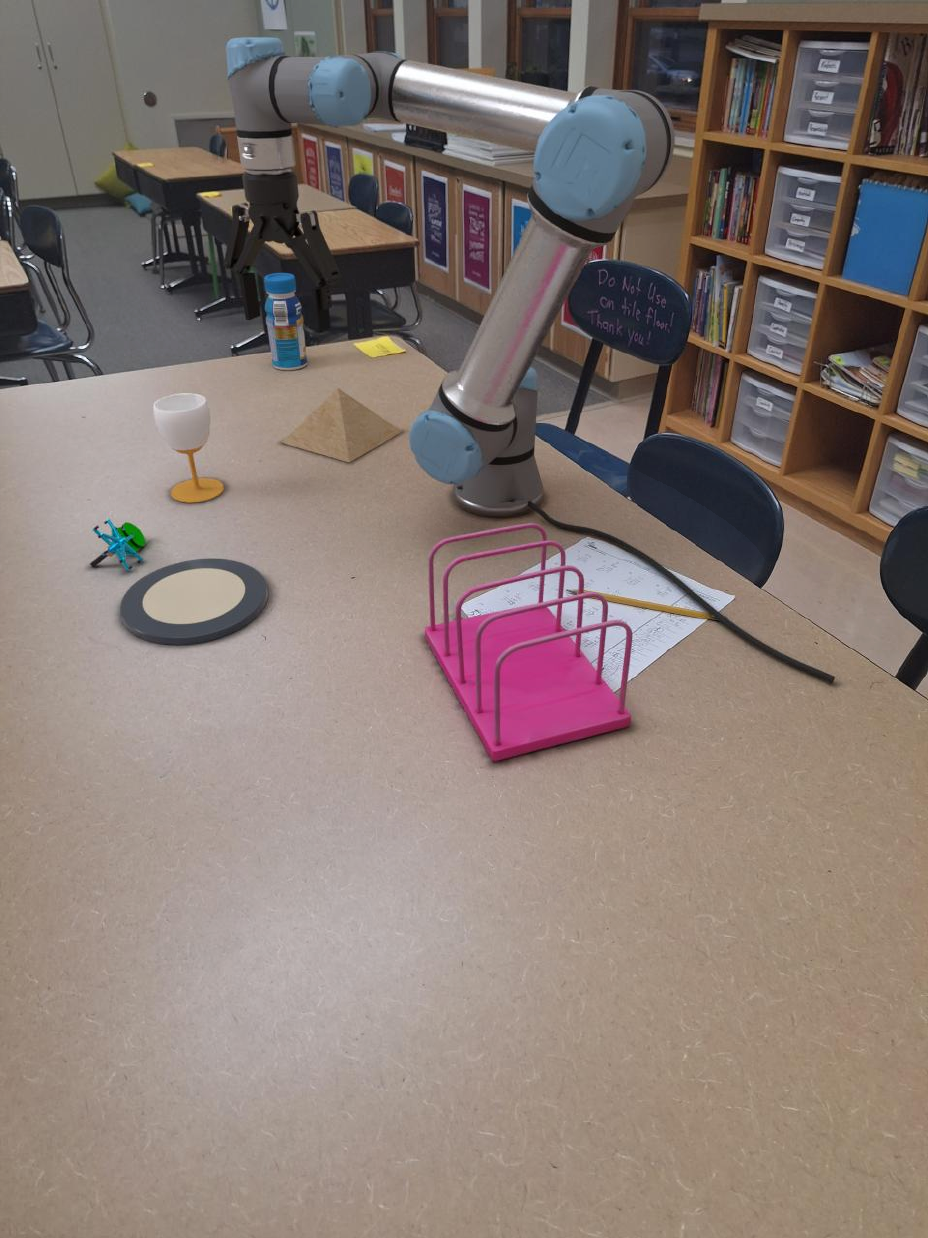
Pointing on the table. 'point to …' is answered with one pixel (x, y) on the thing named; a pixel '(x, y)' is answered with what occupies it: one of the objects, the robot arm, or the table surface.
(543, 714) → the file sorter
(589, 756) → the table surface
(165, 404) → the cup
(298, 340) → the beverage bottle
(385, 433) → the model pyramid
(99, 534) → the spiky blue green toy
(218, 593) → the plate
